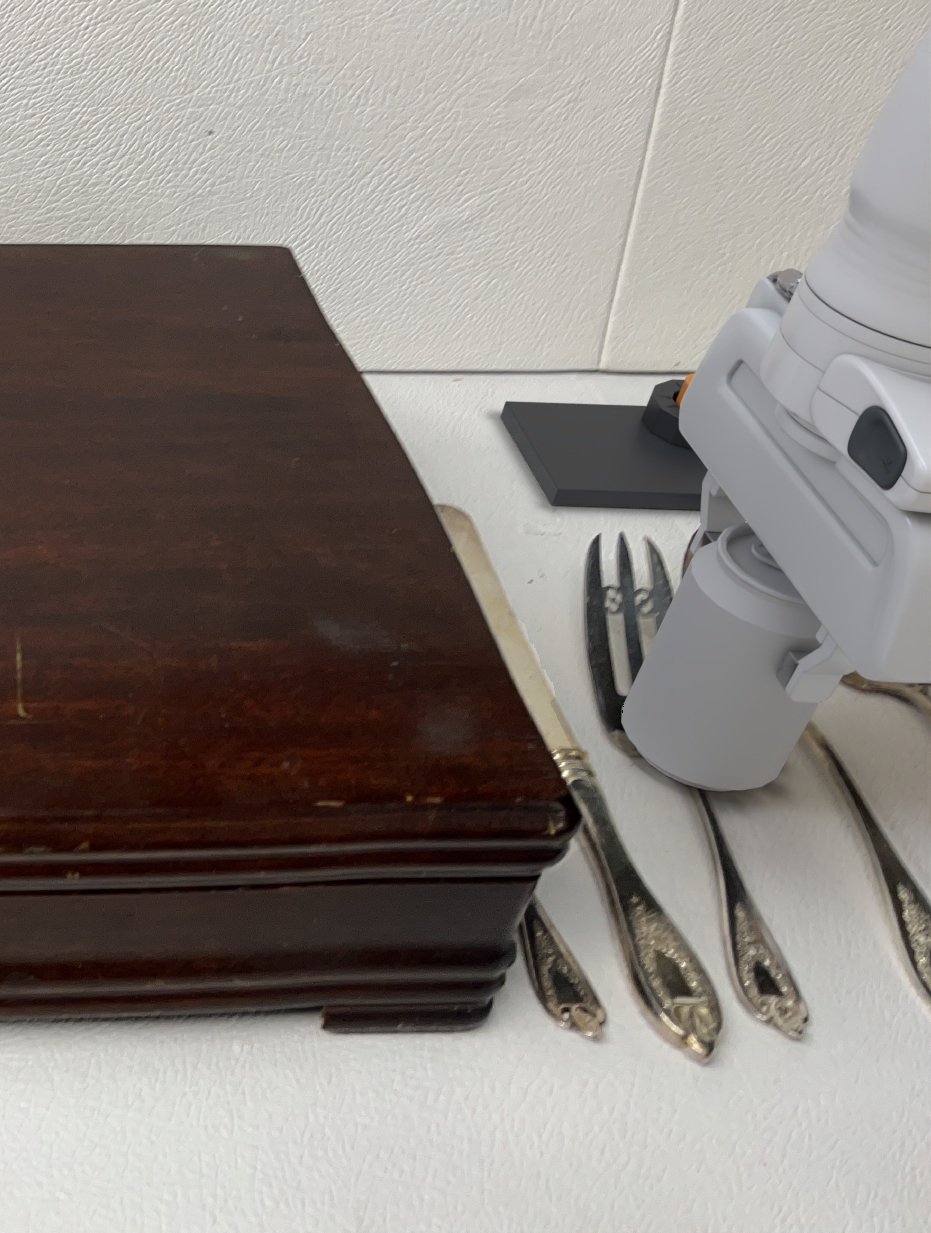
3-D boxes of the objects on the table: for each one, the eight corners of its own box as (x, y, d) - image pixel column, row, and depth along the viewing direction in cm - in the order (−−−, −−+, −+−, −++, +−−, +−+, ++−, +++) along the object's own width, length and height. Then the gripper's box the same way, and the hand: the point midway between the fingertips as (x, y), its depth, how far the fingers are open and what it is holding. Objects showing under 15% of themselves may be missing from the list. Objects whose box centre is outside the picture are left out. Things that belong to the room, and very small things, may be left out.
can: (765, 825, 75) (879, 630, 67) (600, 763, 78) (691, 570, 70) (785, 734, 80) (893, 543, 72) (630, 679, 83) (718, 490, 75)
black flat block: (711, 420, 103) (729, 380, 101) (783, 513, 95) (804, 471, 93) (498, 413, 103) (512, 373, 101) (551, 505, 95) (567, 463, 93)
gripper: (709, 247, 73) (604, 494, 82) (943, 502, 57) (782, 774, 66) (845, 253, 73) (725, 499, 82) (1116, 509, 57) (932, 780, 66)
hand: (752, 624), depth 74 cm, fingers open, 8 cm apart
